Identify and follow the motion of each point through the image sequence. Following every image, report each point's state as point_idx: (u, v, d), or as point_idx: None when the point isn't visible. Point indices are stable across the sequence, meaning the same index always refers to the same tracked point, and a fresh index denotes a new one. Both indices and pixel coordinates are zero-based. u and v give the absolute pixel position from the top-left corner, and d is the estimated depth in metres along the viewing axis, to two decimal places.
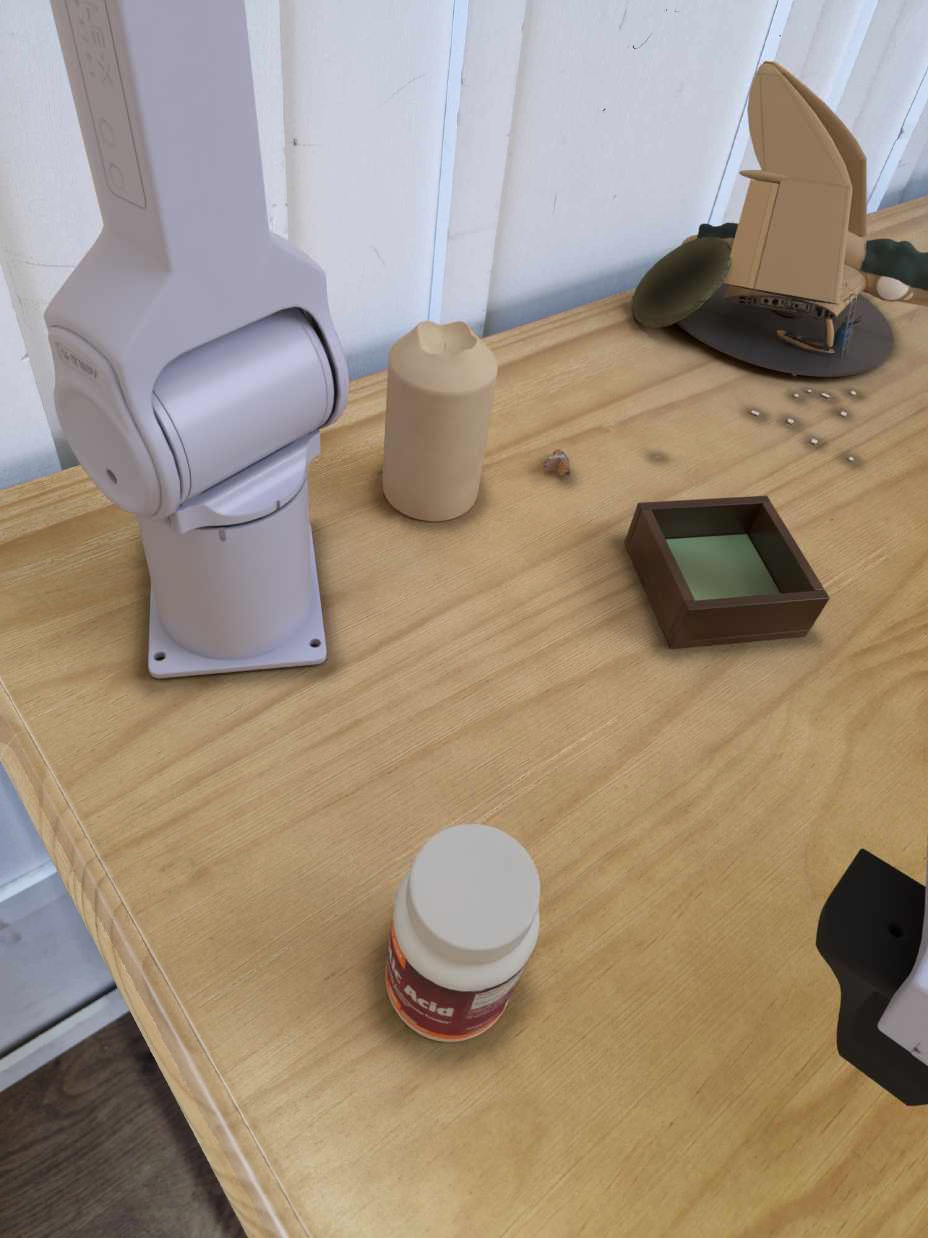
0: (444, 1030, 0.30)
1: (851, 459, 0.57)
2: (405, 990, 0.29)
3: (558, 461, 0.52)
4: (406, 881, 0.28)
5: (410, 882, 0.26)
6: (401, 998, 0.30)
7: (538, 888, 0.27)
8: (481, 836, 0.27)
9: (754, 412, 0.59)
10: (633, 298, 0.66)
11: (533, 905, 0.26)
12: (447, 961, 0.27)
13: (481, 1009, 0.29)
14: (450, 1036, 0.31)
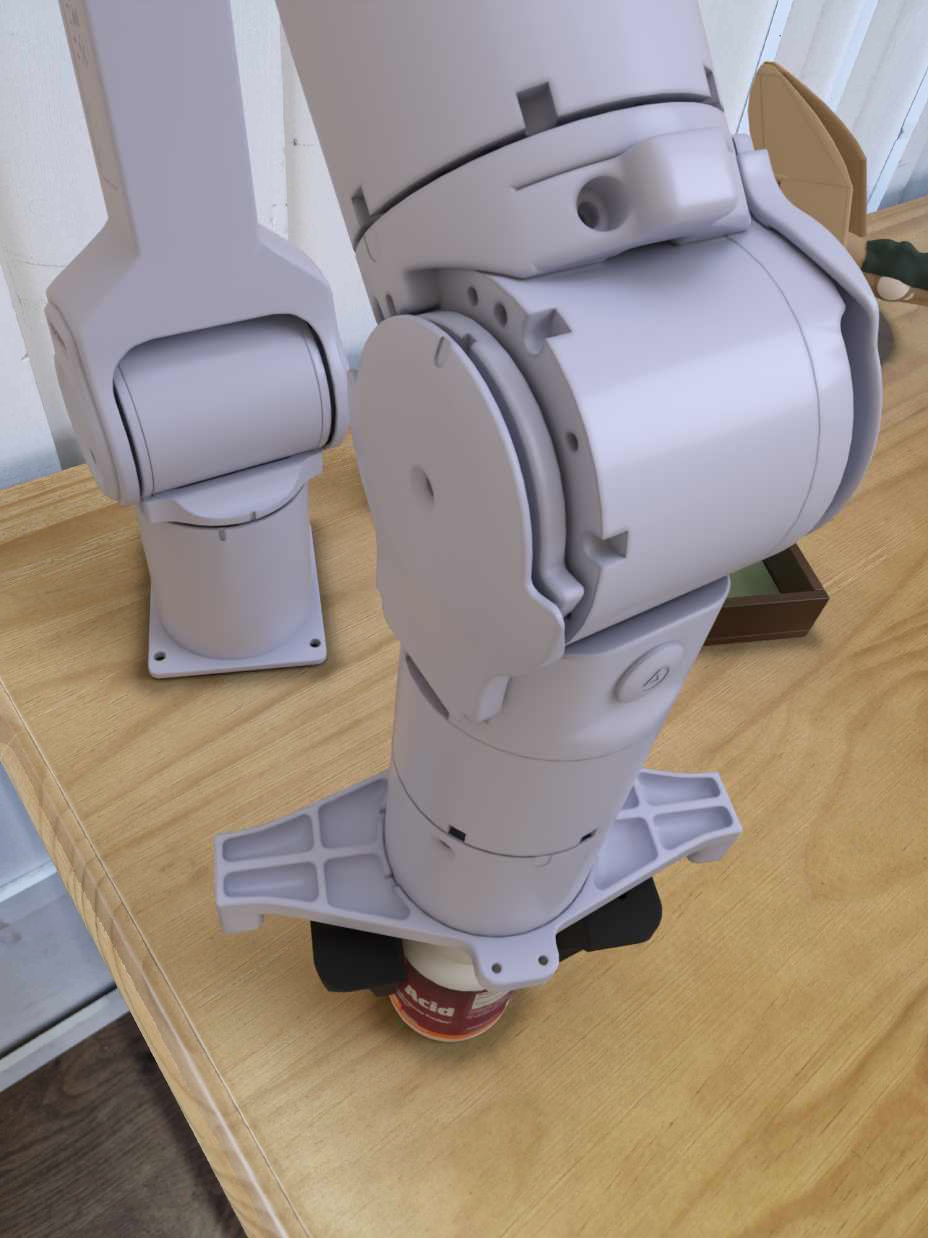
0: (445, 1030, 0.30)
1: None
2: (406, 990, 0.29)
3: None
4: None
5: None
6: (402, 998, 0.30)
7: None
8: None
9: None
10: None
11: None
12: (448, 961, 0.27)
13: (482, 1009, 0.29)
14: (451, 1036, 0.31)
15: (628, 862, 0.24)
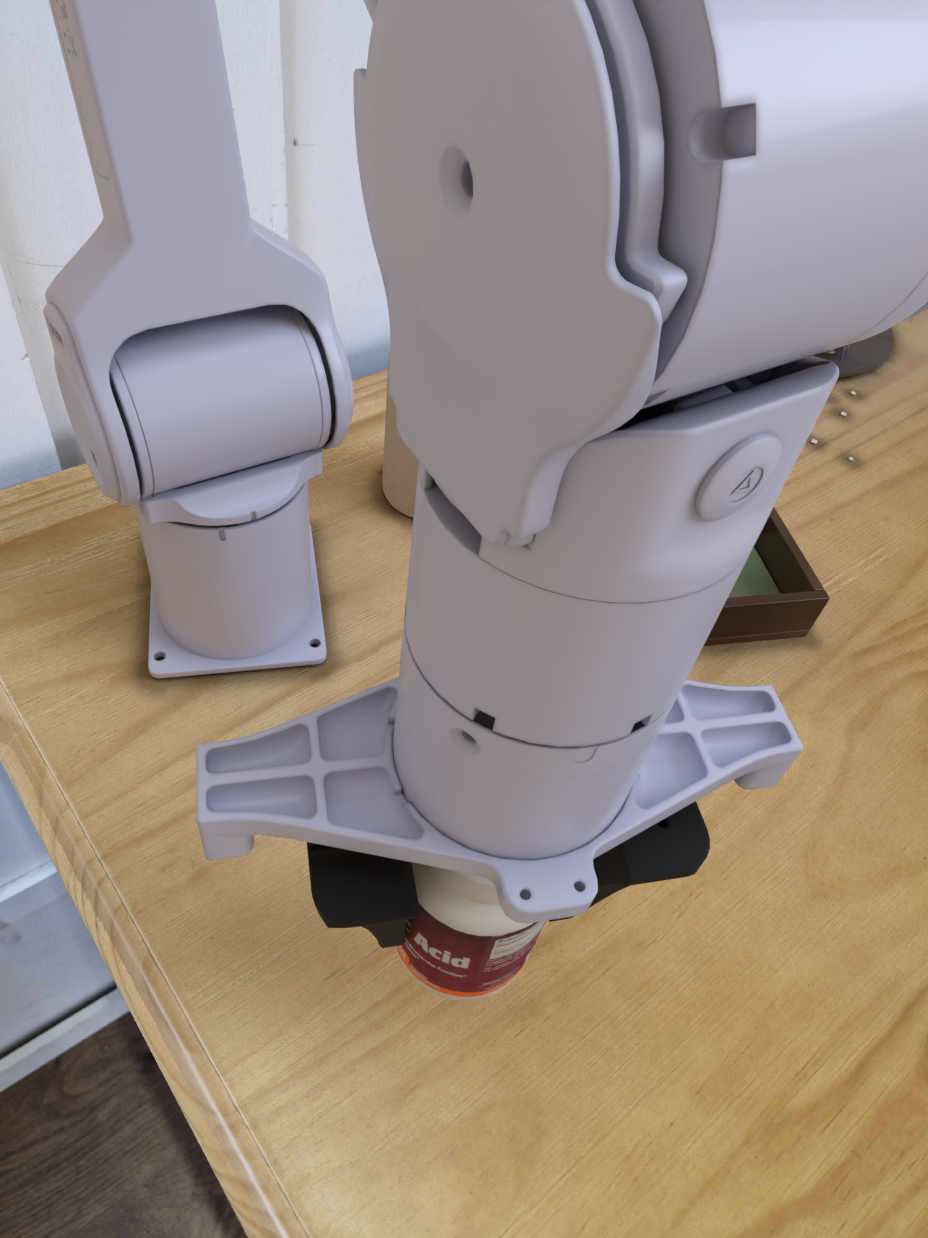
0: (458, 986, 0.27)
1: (851, 459, 0.57)
2: (415, 939, 0.26)
3: None
4: None
5: None
6: (410, 950, 0.27)
7: None
8: None
9: None
10: None
11: None
12: (464, 901, 0.23)
13: (501, 960, 0.25)
14: (464, 993, 0.27)
15: (673, 782, 0.21)
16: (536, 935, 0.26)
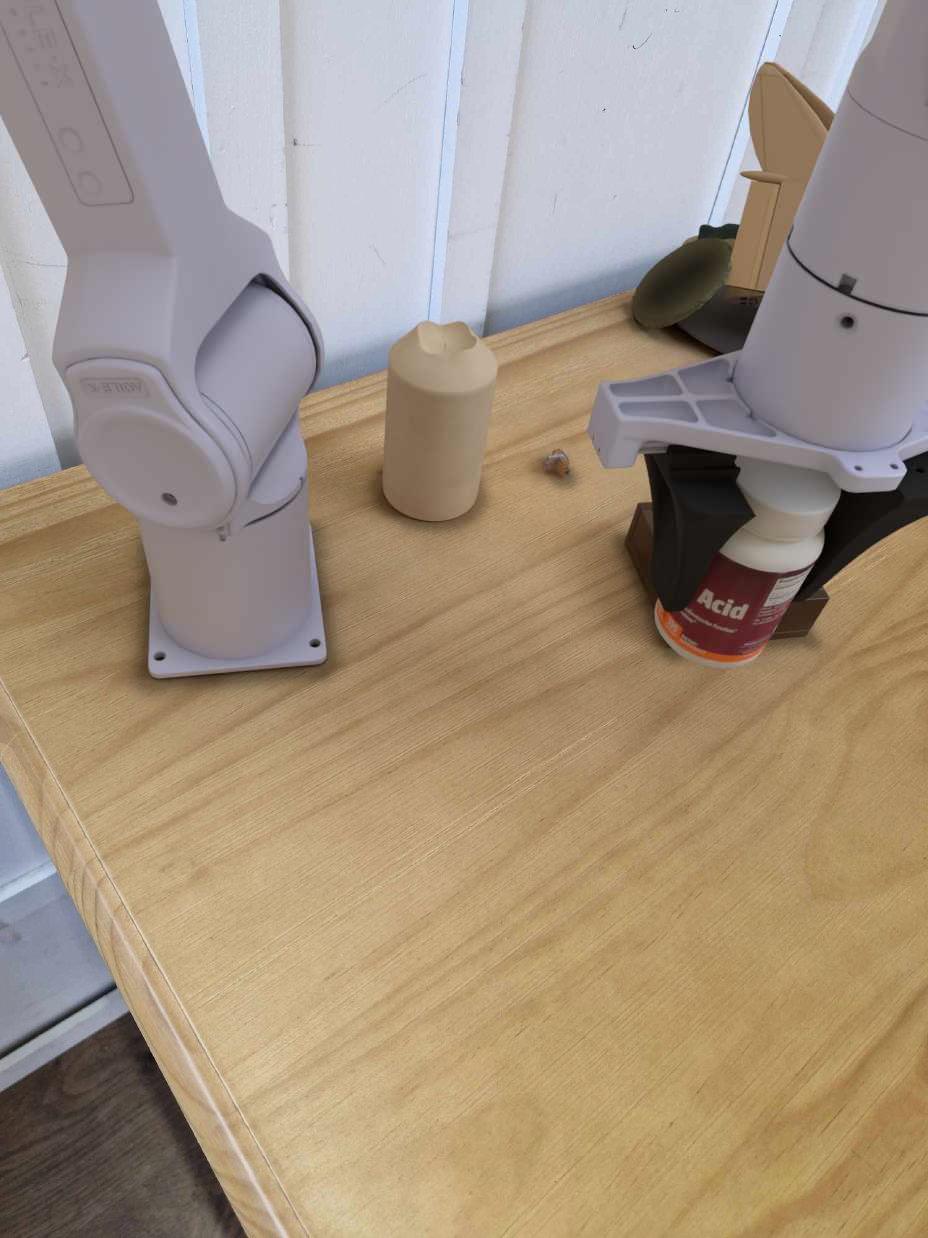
0: (724, 646, 0.34)
1: None
2: (699, 599, 0.33)
3: (557, 460, 0.52)
4: None
5: None
6: (687, 616, 0.34)
7: None
8: None
9: None
10: (633, 298, 0.66)
11: (837, 489, 0.30)
12: (758, 543, 0.31)
13: (769, 610, 0.33)
14: (726, 656, 0.35)
15: None
16: (793, 596, 0.33)
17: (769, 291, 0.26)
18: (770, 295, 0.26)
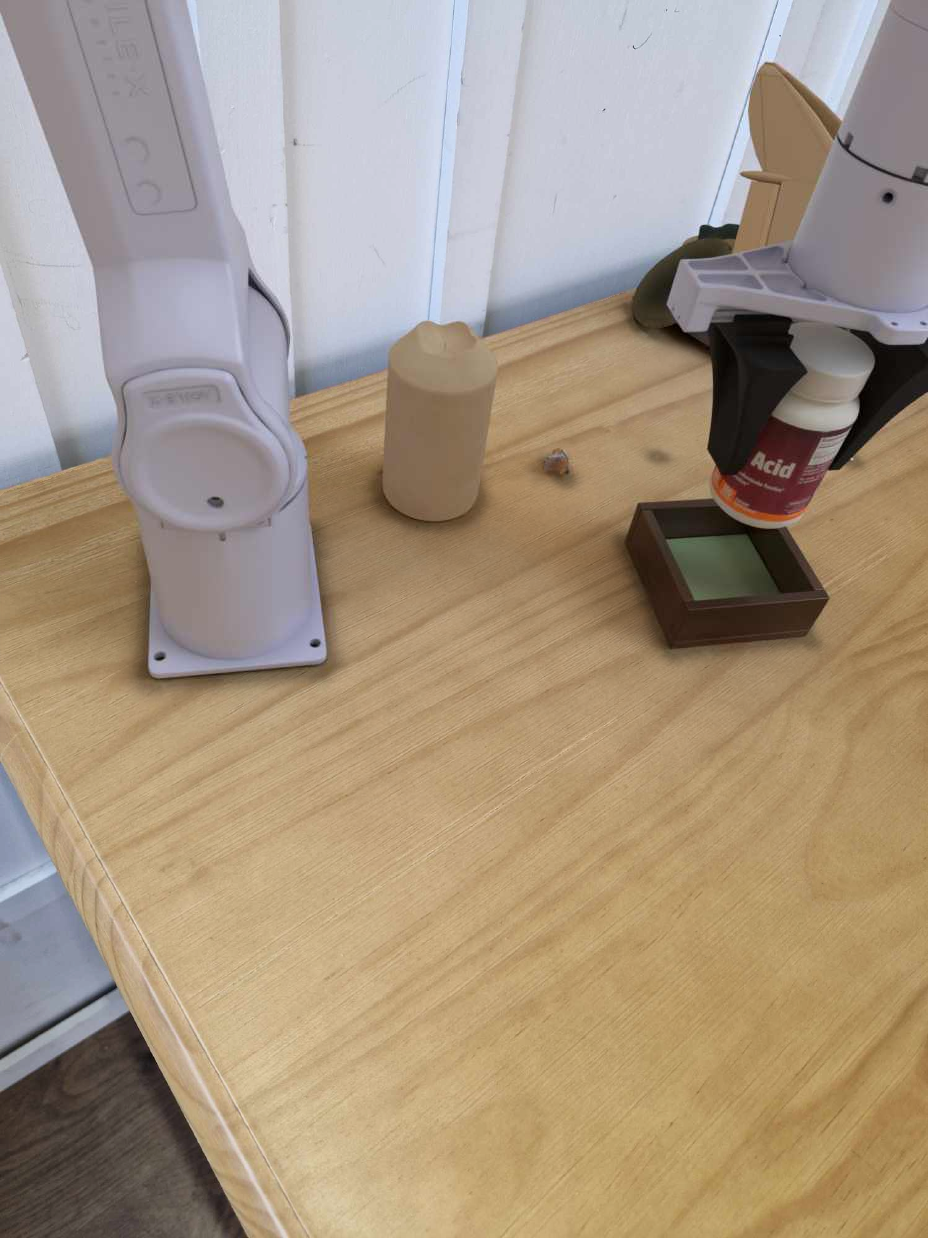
0: (773, 505, 0.40)
1: (851, 459, 0.57)
2: (752, 462, 0.39)
3: (557, 460, 0.52)
4: None
5: None
6: (741, 480, 0.40)
7: (872, 352, 0.37)
8: (822, 327, 0.38)
9: None
10: (633, 298, 0.66)
11: (872, 359, 0.36)
12: (806, 405, 0.37)
13: (812, 469, 0.39)
14: (773, 516, 0.41)
15: None
16: (832, 459, 0.39)
17: (821, 180, 0.32)
18: (822, 183, 0.32)
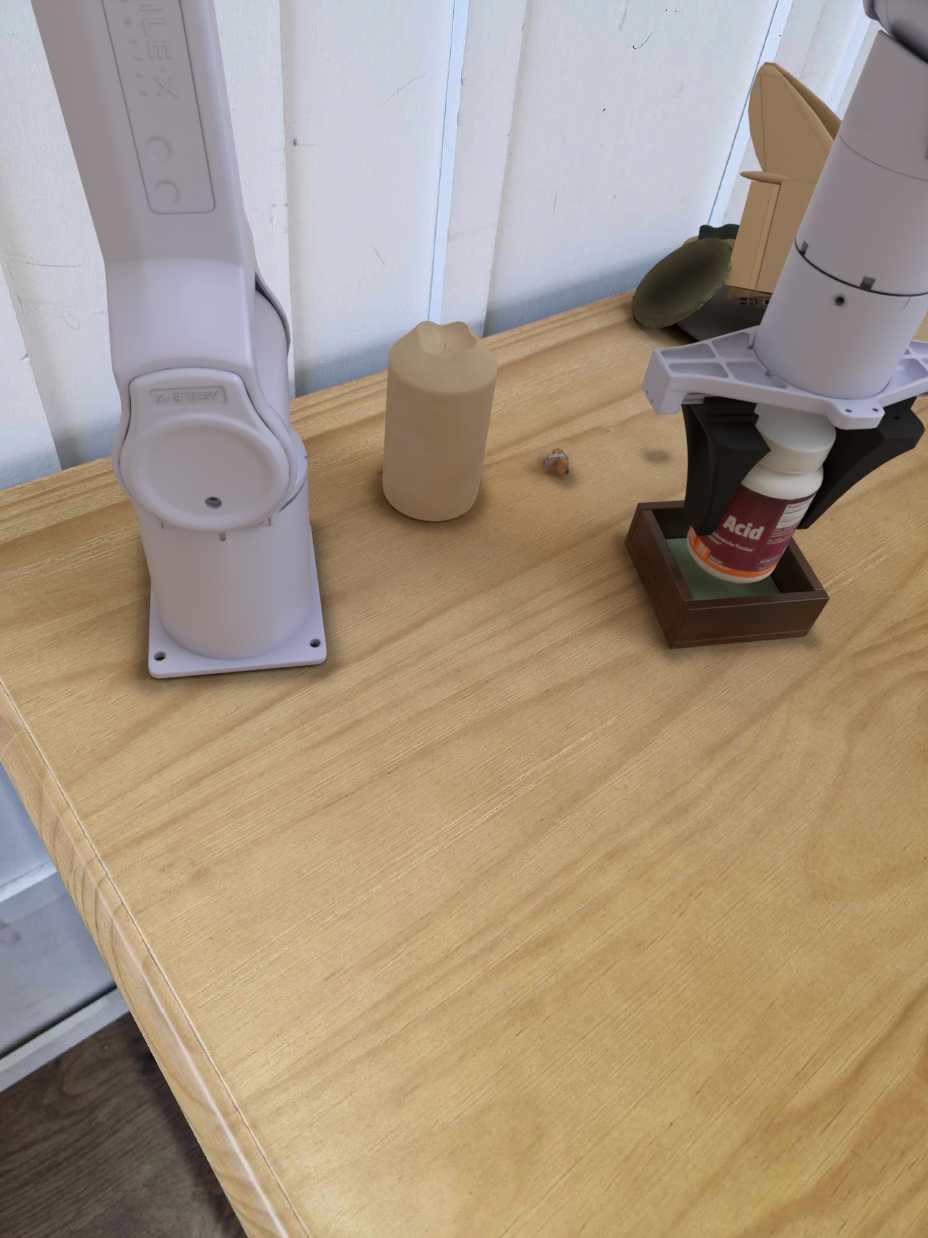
0: (744, 563, 0.43)
1: None
2: (724, 524, 0.42)
3: (557, 460, 0.52)
4: None
5: None
6: (715, 539, 0.43)
7: (833, 426, 0.40)
8: None
9: None
10: (633, 298, 0.66)
11: (833, 433, 0.39)
12: (772, 476, 0.40)
13: (780, 532, 0.42)
14: (745, 572, 0.43)
15: (908, 382, 0.37)
16: (799, 521, 0.42)
17: (781, 279, 0.35)
18: (782, 282, 0.35)
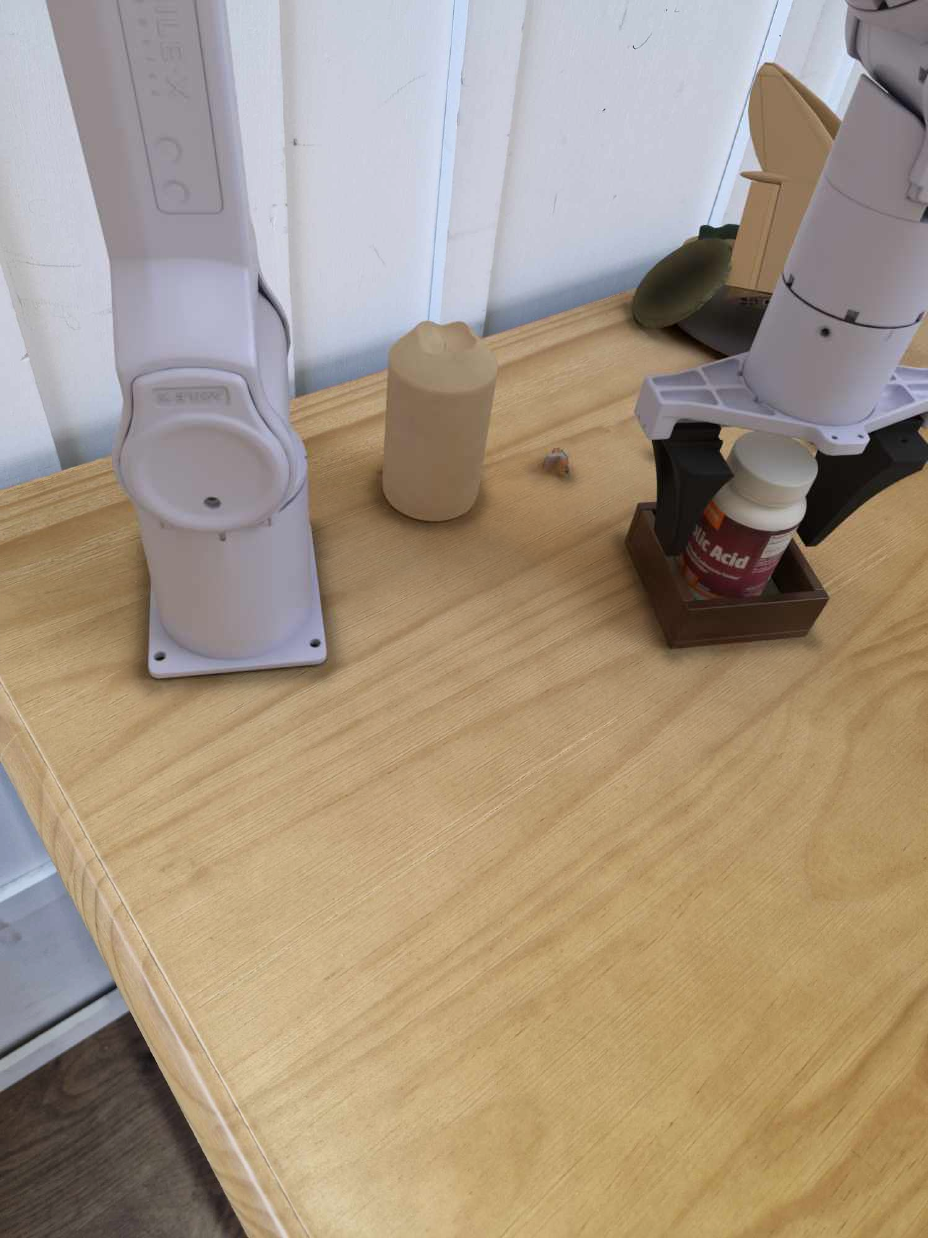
0: (730, 590, 0.44)
1: None
2: (711, 553, 0.43)
3: (557, 459, 0.52)
4: None
5: (735, 454, 0.41)
6: (702, 568, 0.44)
7: (815, 461, 0.41)
8: (772, 436, 0.42)
9: None
10: (633, 298, 0.66)
11: (815, 468, 0.41)
12: (756, 508, 0.41)
13: (765, 561, 0.43)
14: None
15: (894, 408, 0.38)
16: (783, 551, 0.43)
17: (769, 309, 0.36)
18: (770, 312, 0.36)
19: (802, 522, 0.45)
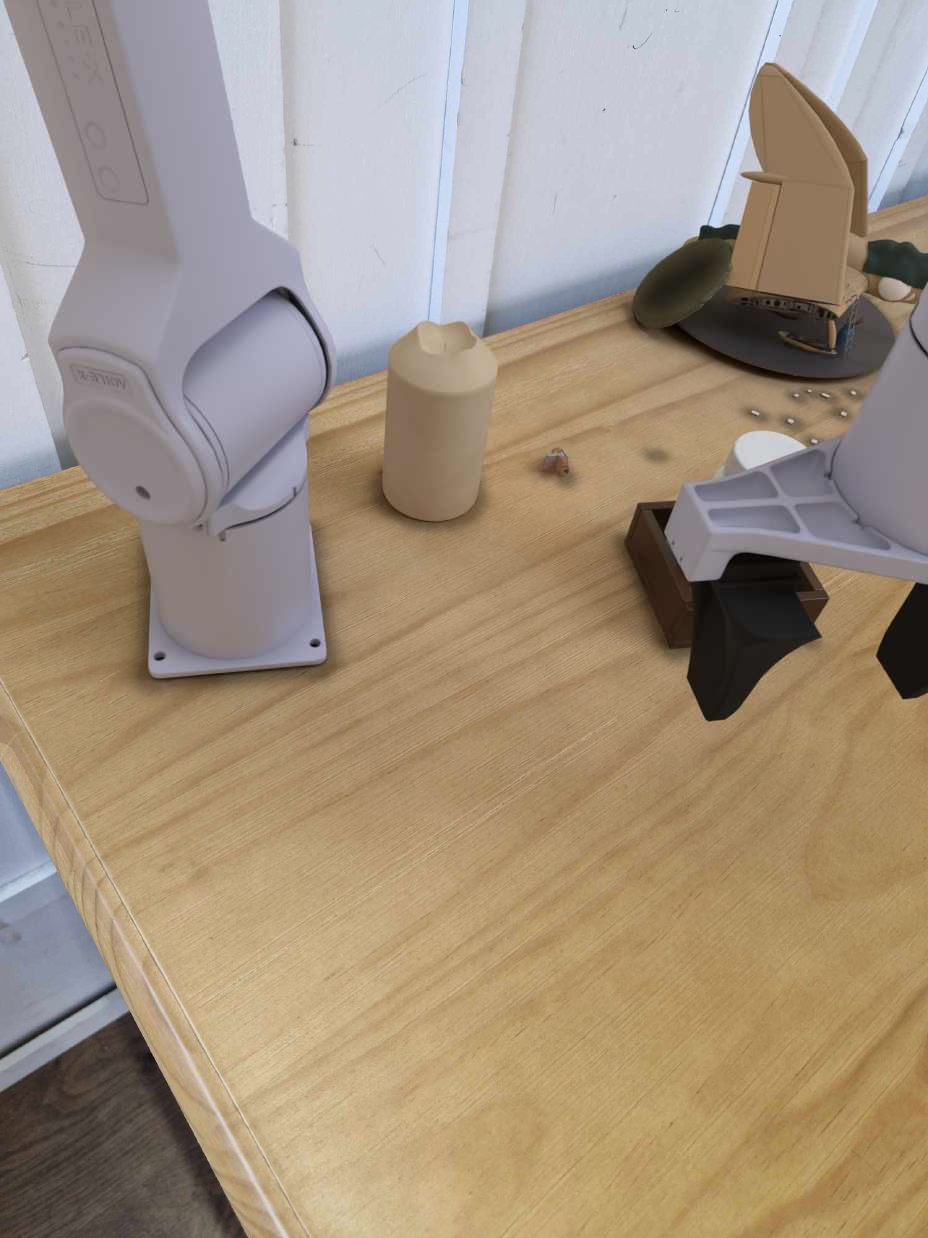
0: None
1: None
2: None
3: (557, 459, 0.52)
4: (717, 474, 0.43)
5: (735, 454, 0.41)
6: None
7: None
8: (772, 436, 0.42)
9: (754, 412, 0.59)
10: (634, 298, 0.66)
11: None
12: None
13: None
14: None
15: None
16: None
17: (885, 383, 0.22)
18: (887, 388, 0.22)
19: (897, 664, 0.32)
